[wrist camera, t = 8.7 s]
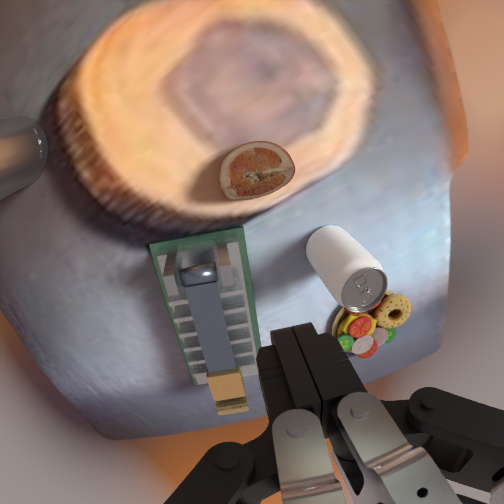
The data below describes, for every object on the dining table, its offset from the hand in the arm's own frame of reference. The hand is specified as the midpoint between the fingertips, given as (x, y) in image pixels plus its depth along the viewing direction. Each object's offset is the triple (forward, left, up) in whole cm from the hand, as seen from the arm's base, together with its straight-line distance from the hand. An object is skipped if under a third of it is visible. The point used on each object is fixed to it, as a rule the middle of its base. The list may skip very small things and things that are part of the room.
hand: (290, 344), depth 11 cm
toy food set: (+19, -26, -30) cm, 44 cm away
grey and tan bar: (-5, -18, -23) cm, 29 cm away
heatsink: (-5, -19, -29) cm, 35 cm away
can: (+12, -11, -29) cm, 33 cm away
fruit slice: (+3, +1, -29) cm, 29 cm away
